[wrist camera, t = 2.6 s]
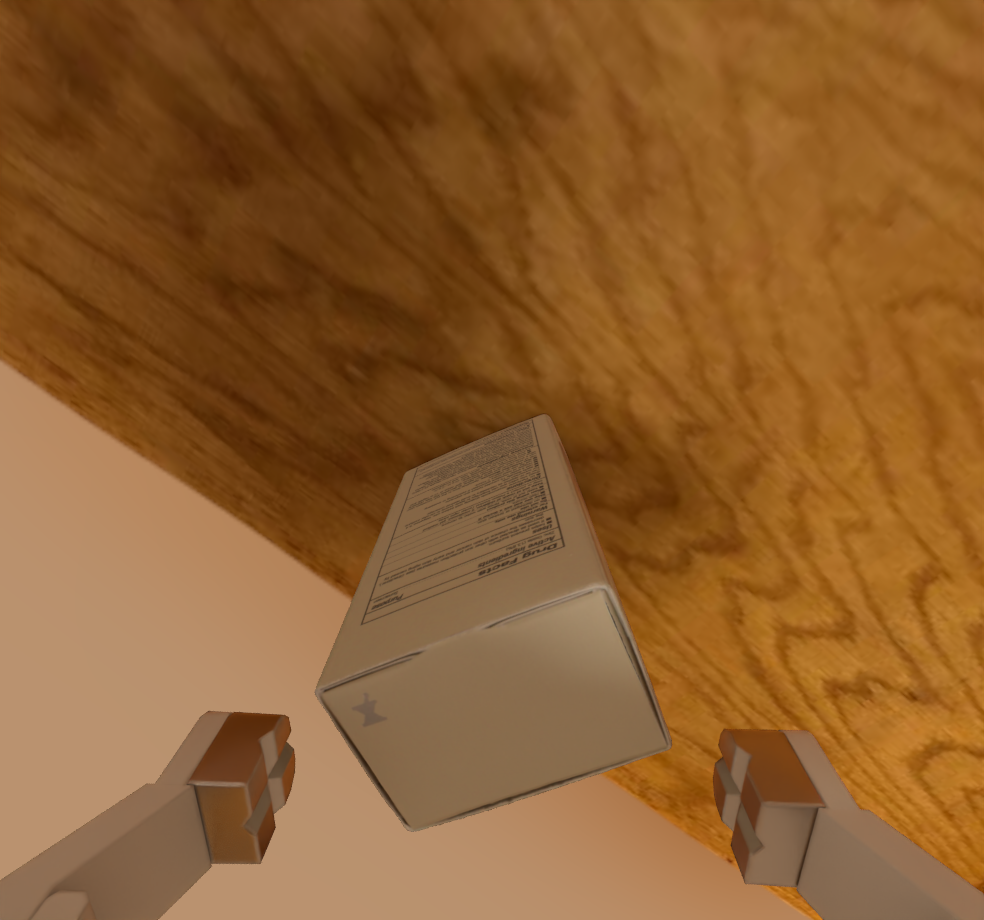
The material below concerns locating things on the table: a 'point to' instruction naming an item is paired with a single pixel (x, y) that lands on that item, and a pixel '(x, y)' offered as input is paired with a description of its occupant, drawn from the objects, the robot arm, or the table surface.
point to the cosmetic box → (488, 639)
